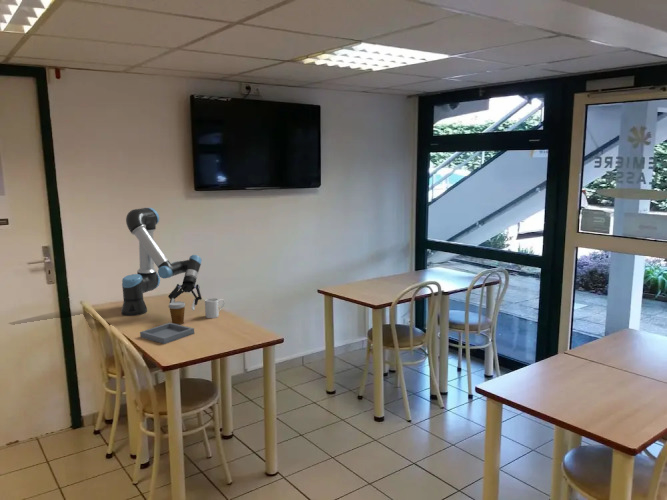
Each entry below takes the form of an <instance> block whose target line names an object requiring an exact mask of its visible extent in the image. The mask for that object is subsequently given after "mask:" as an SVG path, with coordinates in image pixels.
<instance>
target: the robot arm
mask: <svg viewBox="0 0 667 500" xmlns="http://www.w3.org/2000/svg"><path fill="white" fill-rule="evenodd" d="M125 222H126V227H127V229H128V230H129V232H130V234H131V235H133V236H135V237H136V238H137V240H138V243H139V245H138V251H139V252H138V253H139V269H138V270H136V271H137V273H134V274H133V273H132V274H129V275H125V276H124V277H123V278H122V280H121V283H122V284H121V287H122V295H123V297H122V298H123V302H122V306H121V311H120V312H121V315H122V316H130V317H132V316H133V317H134V316H139V315H143V314H146V313H147V312H148V307H147V305H146V303H145V300H144V294H145V293H147V292H150V291H154V290H156V289H157V288H158V287H159V286H160V282H161V279H170V278H171V277H174V276H177V275H181V274H184V276H183V280H182V283H181V284H179V283H177V284H176V286H175V287H174V288H173V290H172V291H171V292H170V293H169V295H168V297H167V298H168V299H169V303H171V302H176V300H175V299H176V298H178V297H179V296H180V295H181V294H184V293H191V294H192V295H193V297H194V298H193V299H192V300H193V301H192V304H191V310H192V311H195V309H196V306H197V305H198V302H199V300H200V301H201V300H203V298H202V294H201V291H200V285H199V284H197V283H196V282H197V279H198V276H199V272H200V269H201V265H202V257H200V256H199V255H196V254H192V255H190V256H189V259H186V260H185V259H184V260H179V261H174V262H170V260H169V259H168V257H167V256H166V254H164V252H163V250H162V248H160V246H159V245H158V243H157V242H156V241H155V239H154V232H155V231H156V229H157V226H156V225H158V223H159V222H160V216H159V213H158V211H156V210H155V208H153V207H141V208H135V209H132V210H130V211H129V212H128V213H127V215H126V216H125ZM154 264H155V265H154ZM155 266H156V267H157V268H158V270H157V269H156V268H155ZM194 289H195V290H196V293H195V291H194Z"/></svg>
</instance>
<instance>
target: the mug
mask: <svg viewBox="0 0 667 500" xmlns="http://www.w3.org/2000/svg"><path fill="white" fill-rule="evenodd" d="M220 301H222V302H223V303H222V305H221V307H220V308H219V302H220ZM225 302H226V301H225V299H223V298H219V299H218V298H215V297H211V298H207V299H205V300H204V310H205V311H204V312H205V318H207V319H215V318H218V317H219V316H220V315H219V314H220V313H219V312H221V310H222V309H223V308H224V307H225Z"/></svg>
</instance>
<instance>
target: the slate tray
mask: <svg viewBox="0 0 667 500" xmlns="http://www.w3.org/2000/svg"><path fill="white" fill-rule="evenodd" d="M139 334H140V335H139V337H140V338H142V339H145V340H149V341H152V342H156V343H158V344H163V345H166V344H169V343H172V342H175V341H177V340H180V339H183V338H187V337H188V336H192V335H194V334H195V327H194V328H193V327H189V326H185V325H182V324H179V325H178V324H174V323H172V322H168V323H164V324H161V325H158V326H155V327H152V328H149V329H145V330H142V331H140V333H139Z"/></svg>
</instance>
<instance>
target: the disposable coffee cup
mask: <svg viewBox="0 0 667 500" xmlns="http://www.w3.org/2000/svg"><path fill="white" fill-rule="evenodd" d="M167 307H168V308H169V313H170V319H171V323H174V324H178V325H182V324H184V322H185V319H184V318H185V307H186V304H185V301H181V300H180V301H179V300H177V301H175V302H171V303H170V302H169V304H168V306H167Z"/></svg>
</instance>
